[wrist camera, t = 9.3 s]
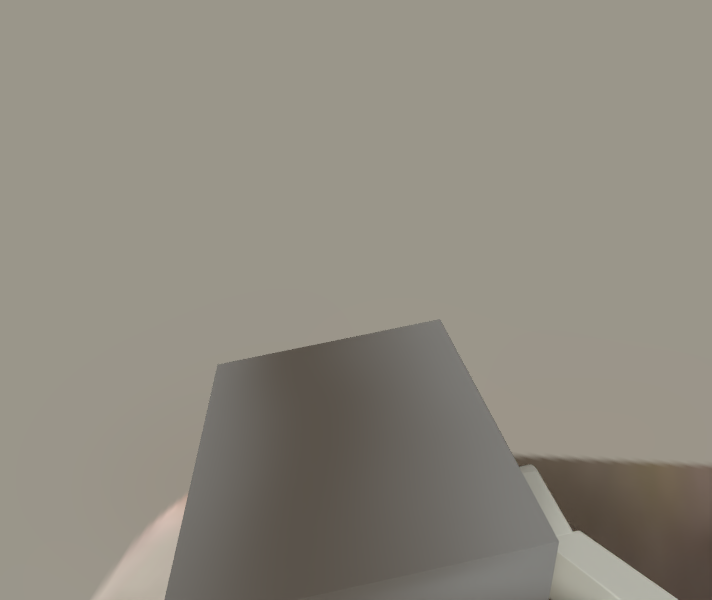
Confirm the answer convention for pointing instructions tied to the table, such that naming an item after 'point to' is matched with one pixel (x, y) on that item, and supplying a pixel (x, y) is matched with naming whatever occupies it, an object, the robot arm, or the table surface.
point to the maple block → (358, 481)
